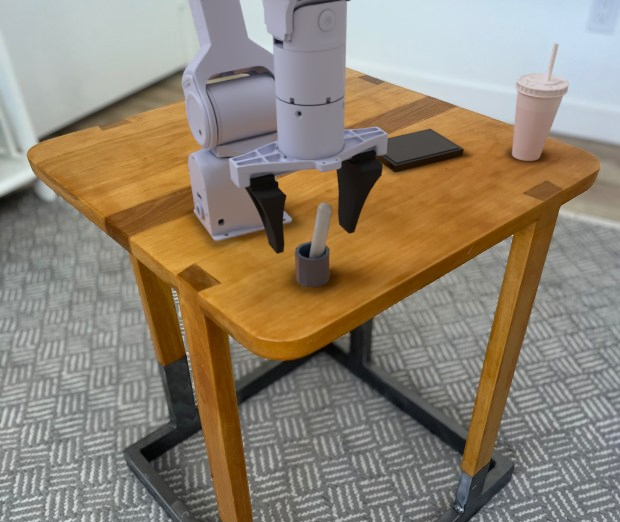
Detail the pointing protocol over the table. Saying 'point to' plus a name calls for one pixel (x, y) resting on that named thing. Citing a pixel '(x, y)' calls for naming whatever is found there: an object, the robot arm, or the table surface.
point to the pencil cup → (311, 266)
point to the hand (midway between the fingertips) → (312, 238)
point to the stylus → (320, 230)
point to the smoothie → (536, 110)
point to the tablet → (418, 150)
